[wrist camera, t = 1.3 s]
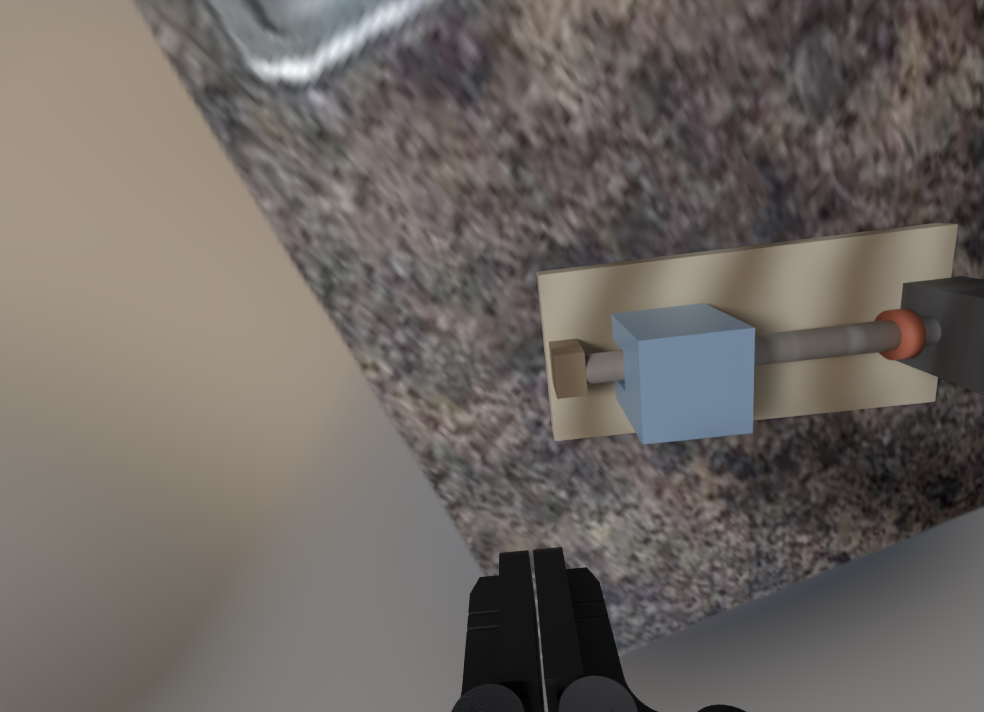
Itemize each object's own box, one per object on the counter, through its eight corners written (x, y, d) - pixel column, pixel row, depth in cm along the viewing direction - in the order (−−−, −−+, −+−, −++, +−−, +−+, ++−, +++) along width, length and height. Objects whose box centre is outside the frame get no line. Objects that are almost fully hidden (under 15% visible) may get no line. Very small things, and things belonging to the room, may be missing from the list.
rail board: (944, 221, 28) (1087, 227, 21) (923, 391, 31) (1043, 444, 24) (536, 271, 29) (546, 291, 22) (552, 430, 32) (565, 491, 25)
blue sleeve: (703, 302, 27) (755, 327, 22) (704, 389, 29) (752, 433, 23) (611, 313, 28) (638, 340, 22) (616, 398, 29) (642, 444, 24)
